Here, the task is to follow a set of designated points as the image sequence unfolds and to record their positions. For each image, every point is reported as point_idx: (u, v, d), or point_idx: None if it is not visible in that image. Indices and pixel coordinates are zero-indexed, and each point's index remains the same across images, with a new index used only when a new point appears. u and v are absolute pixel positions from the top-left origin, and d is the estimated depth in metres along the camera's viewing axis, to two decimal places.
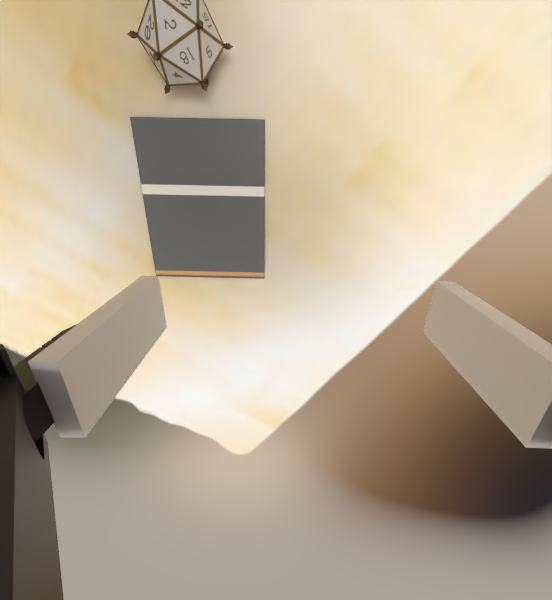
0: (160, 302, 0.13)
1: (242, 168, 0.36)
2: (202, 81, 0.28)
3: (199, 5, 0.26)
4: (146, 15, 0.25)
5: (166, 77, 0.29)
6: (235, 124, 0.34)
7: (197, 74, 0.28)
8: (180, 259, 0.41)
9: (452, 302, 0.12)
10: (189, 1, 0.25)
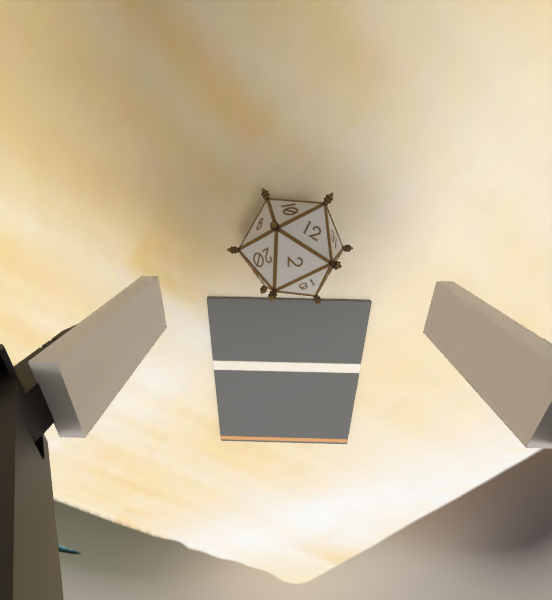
0: (160, 302, 0.13)
1: (337, 346, 0.30)
2: (316, 295, 0.22)
3: (328, 227, 0.19)
4: (260, 243, 0.19)
5: (269, 288, 0.23)
6: (335, 306, 0.28)
7: (312, 292, 0.22)
8: (251, 426, 0.35)
9: (452, 302, 0.12)
10: (318, 228, 0.19)
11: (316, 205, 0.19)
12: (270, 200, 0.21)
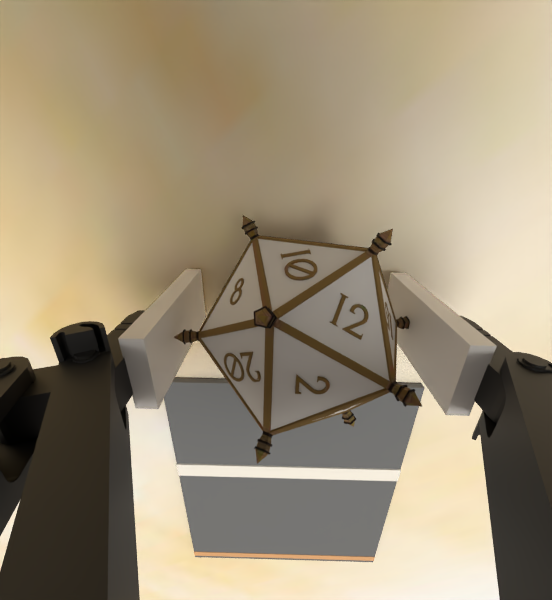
0: (202, 293, 0.14)
1: (365, 447, 0.19)
2: (346, 412, 0.12)
3: None
4: (235, 339, 0.09)
5: None
6: None
7: (341, 411, 0.11)
8: (237, 541, 0.24)
9: (401, 290, 0.13)
10: (363, 308, 0.09)
11: (355, 256, 0.09)
12: (259, 240, 0.10)
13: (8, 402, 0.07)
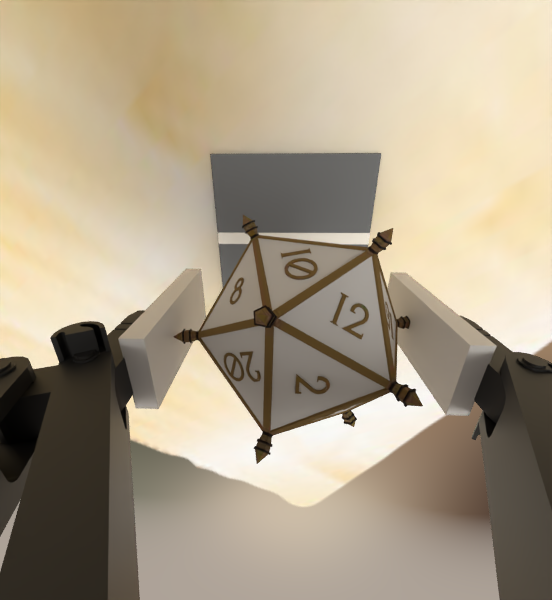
0: (202, 293, 0.14)
1: (345, 212, 0.29)
2: (347, 412, 0.12)
3: None
4: (235, 339, 0.09)
5: None
6: (343, 160, 0.27)
7: (341, 411, 0.11)
8: None
9: (400, 290, 0.13)
10: (363, 308, 0.09)
11: (356, 255, 0.09)
12: (259, 240, 0.10)
13: (8, 402, 0.07)
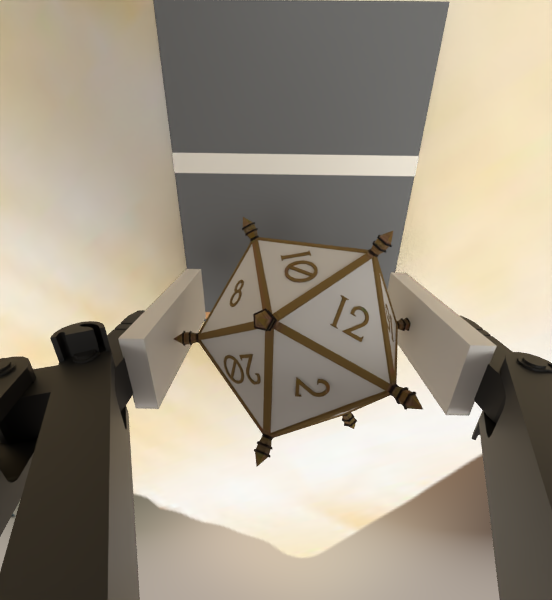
0: (202, 293, 0.14)
1: (380, 117, 0.17)
2: (347, 414, 0.12)
3: None
4: (235, 341, 0.09)
5: None
6: (383, 14, 0.15)
7: (341, 413, 0.11)
8: None
9: (401, 290, 0.13)
10: (363, 311, 0.09)
11: (356, 258, 0.09)
12: (259, 242, 0.10)
13: (8, 402, 0.07)
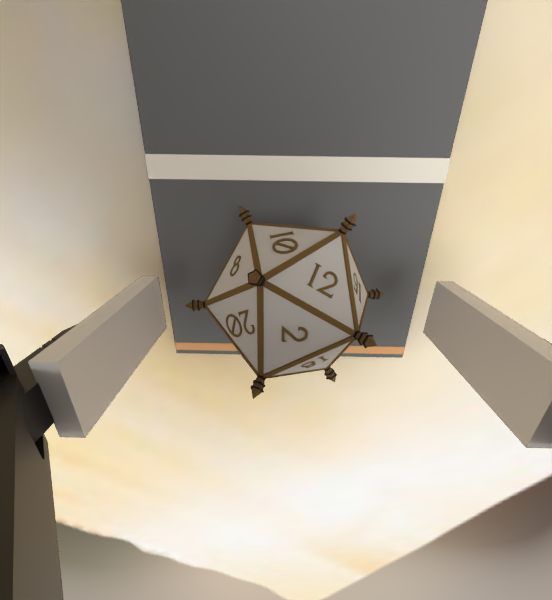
0: (160, 302, 0.13)
1: (404, 110, 0.14)
2: (328, 368, 0.14)
3: None
4: (234, 301, 0.11)
5: None
6: None
7: (323, 366, 0.14)
8: None
9: (452, 302, 0.12)
10: (333, 275, 0.11)
11: (328, 235, 0.12)
12: (253, 226, 0.13)
13: None
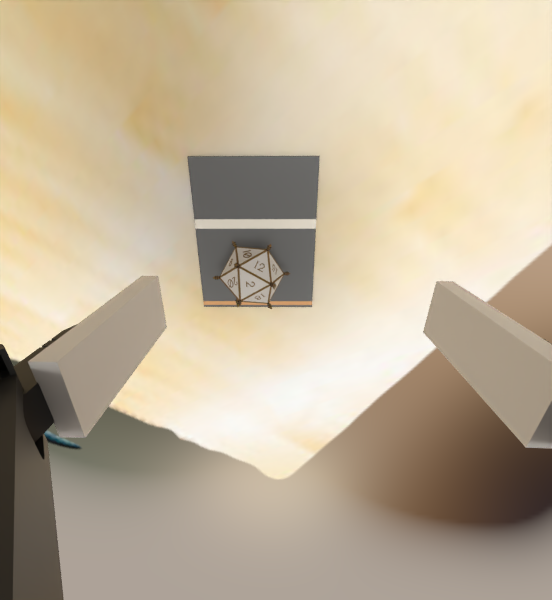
0: (160, 302, 0.13)
1: (295, 202, 0.36)
2: (268, 303, 0.36)
3: (270, 263, 0.34)
4: (230, 274, 0.34)
5: None
6: (290, 161, 0.34)
7: (265, 301, 0.36)
8: (229, 290, 0.41)
9: (452, 302, 0.12)
10: (263, 264, 0.33)
11: (262, 251, 0.34)
12: (237, 248, 0.35)
13: None
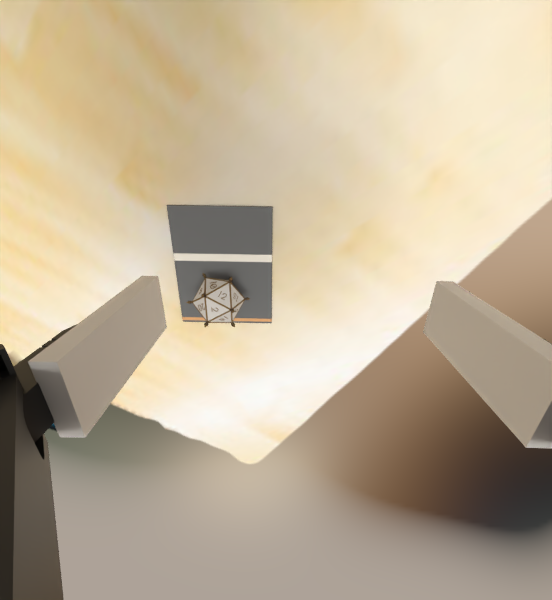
0: (160, 302, 0.13)
1: (254, 241, 0.45)
2: (231, 322, 0.45)
3: (231, 293, 0.43)
4: (199, 301, 0.42)
5: None
6: (249, 210, 0.43)
7: (229, 321, 0.45)
8: None
9: (452, 302, 0.12)
10: (225, 294, 0.42)
11: (225, 283, 0.42)
12: (206, 278, 0.44)
13: None
